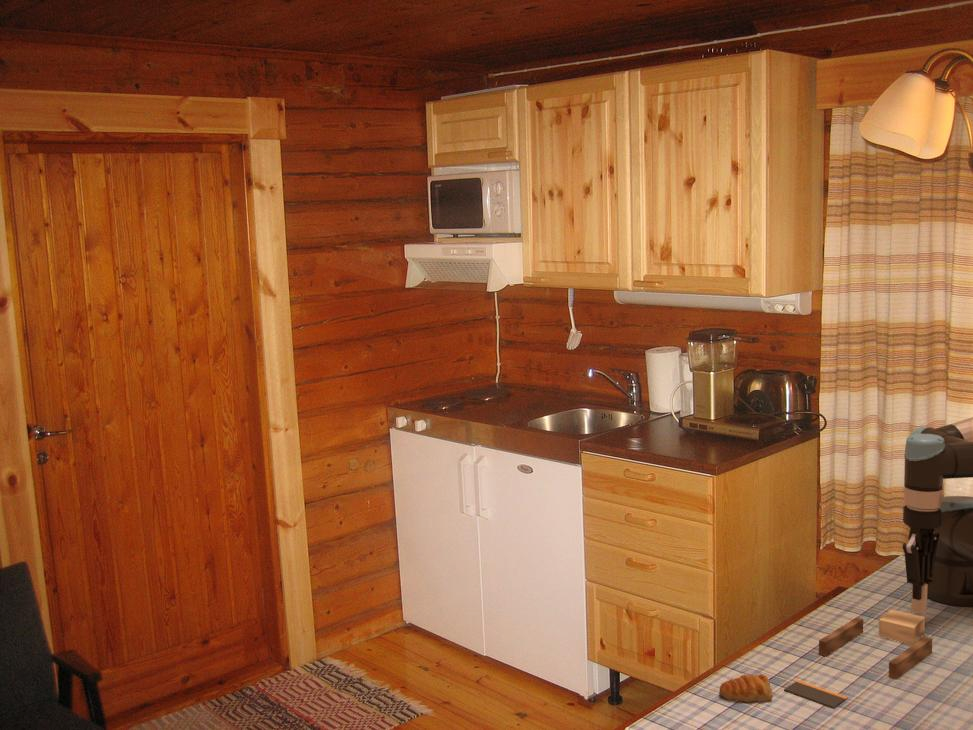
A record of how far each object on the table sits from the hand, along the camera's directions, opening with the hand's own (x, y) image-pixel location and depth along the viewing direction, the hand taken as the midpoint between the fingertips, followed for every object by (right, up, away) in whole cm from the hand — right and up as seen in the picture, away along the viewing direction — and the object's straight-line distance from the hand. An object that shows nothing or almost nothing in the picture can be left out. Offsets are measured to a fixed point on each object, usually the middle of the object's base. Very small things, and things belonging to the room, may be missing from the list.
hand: (918, 611), depth 210 cm
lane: (-15, -5, -13) cm, 21 cm away
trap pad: (-32, -8, -29) cm, 45 cm away
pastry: (-45, -9, -29) cm, 54 cm away
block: (-6, -4, -5) cm, 9 cm away
